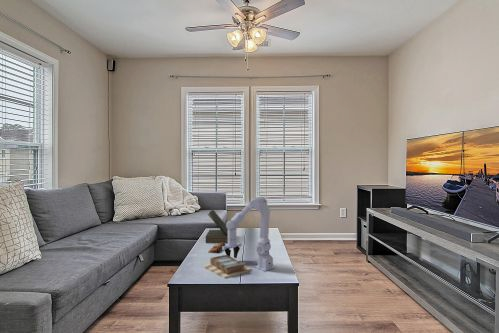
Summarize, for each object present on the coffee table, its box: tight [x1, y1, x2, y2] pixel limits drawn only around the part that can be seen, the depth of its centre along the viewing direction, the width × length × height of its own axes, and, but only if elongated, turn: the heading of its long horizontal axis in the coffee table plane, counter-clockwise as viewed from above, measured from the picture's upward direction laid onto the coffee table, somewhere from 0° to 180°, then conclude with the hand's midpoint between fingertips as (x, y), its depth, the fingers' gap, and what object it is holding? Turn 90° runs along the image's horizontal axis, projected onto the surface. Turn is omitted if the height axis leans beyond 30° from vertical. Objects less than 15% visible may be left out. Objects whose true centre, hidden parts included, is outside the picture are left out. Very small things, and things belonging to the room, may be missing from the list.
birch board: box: [202, 262, 252, 279], centre depth 182 cm, size 24×20×1 cm
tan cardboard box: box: [209, 254, 245, 274], centre depth 182 cm, size 22×12×4 cm, turn 33°
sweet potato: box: [207, 242, 226, 254], centre depth 222 cm, size 18×7×7 cm, turn 169°
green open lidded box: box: [205, 209, 228, 244], centre depth 251 cm, size 23×20×25 cm
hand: (231, 258), depth 195 cm, fingers open, 5 cm apart
